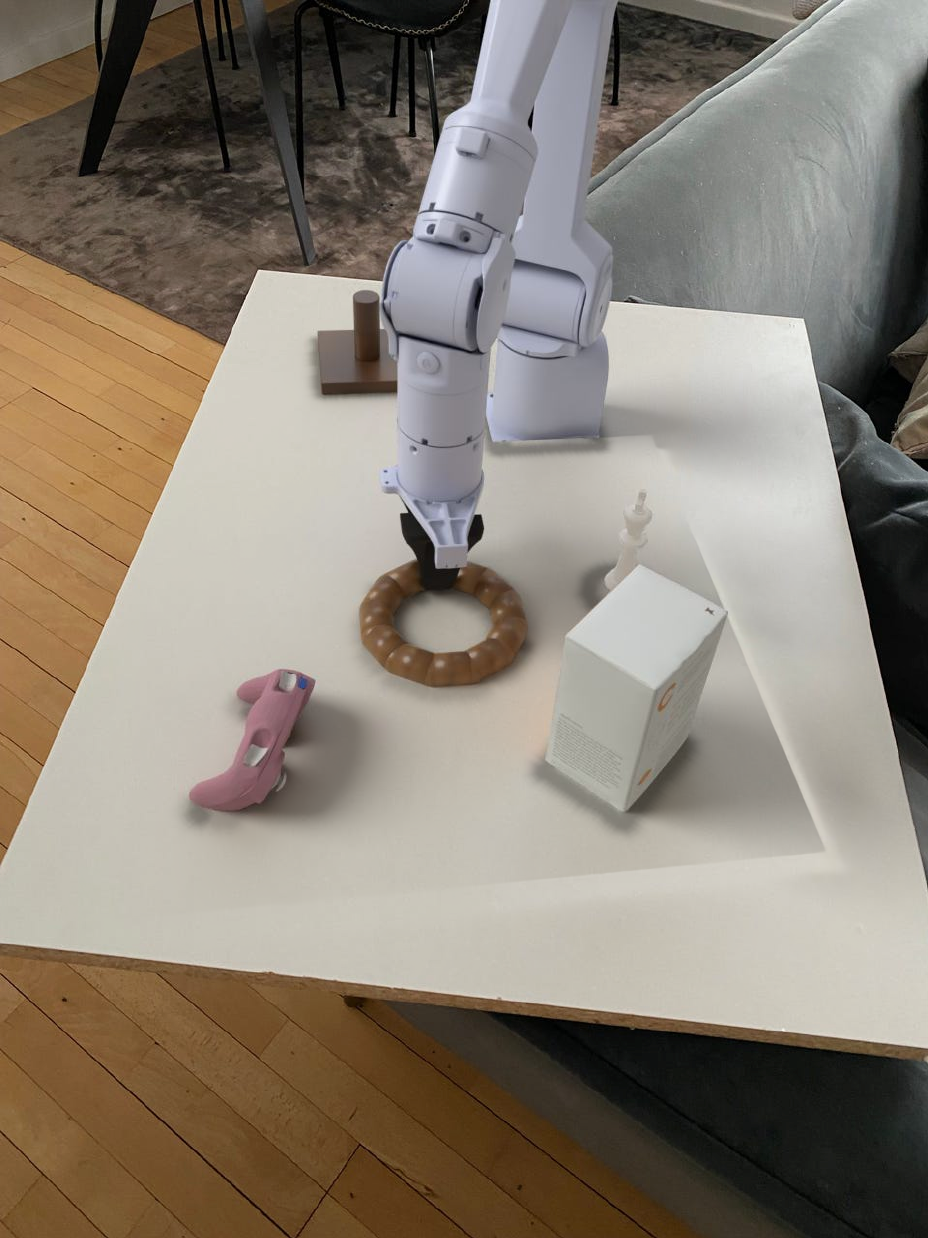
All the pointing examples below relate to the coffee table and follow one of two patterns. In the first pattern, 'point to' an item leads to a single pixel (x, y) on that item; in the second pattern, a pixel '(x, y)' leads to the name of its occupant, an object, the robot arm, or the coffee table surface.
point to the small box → (631, 684)
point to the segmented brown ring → (447, 665)
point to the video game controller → (259, 742)
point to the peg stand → (358, 352)
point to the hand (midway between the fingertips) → (435, 572)
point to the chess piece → (630, 539)
